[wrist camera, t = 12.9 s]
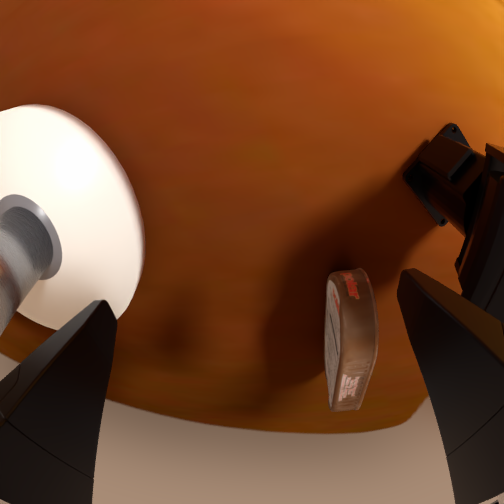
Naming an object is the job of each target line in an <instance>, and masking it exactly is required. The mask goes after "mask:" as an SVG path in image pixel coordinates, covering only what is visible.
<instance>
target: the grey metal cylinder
mask: <svg viewBox="0 0 504 504" xmlns="http://www.w3.org/2000/svg"><path fill="white" fill-rule="evenodd" d="M52 259H53V245H52V241H51V238H50V235H49V233H48V231H47V229H46V227H45V226H44V224H43V223H42V222H41V220H40V219H39V218H38V217H37V216H36V215H35V214H34V213H32V212H31V211H30V210H28V209H26V208H23V207H19V206H15V207H11V208H9V209H8V210H7V211H5V212H4V213H3V214H2V215H1V216H0V335H1V334H2V332H3V331H4V329H5V327H6V326H7V324H8V323H9V321H10V320H11V318H12V317H13V315H14V313H15V312H16V311H17V309H18V308H19V306H20V305H21V303H22V302H23V300H24V299H25V298H26V296H27V295H28V293H29V292H30V291H31V289H32V288H33V286H34V285H35V284H36V282H37V281H38V280H39V278H40V277H41V276H42V275H43V273H44V272H45V271H46V269H47V268H48V267H49V266H50V264H51V262H52Z"/></svg>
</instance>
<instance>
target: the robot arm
mask: <svg viewBox="0 0 504 504" xmlns="http://www.w3.org/2000/svg"><path fill="white" fill-rule="evenodd" d="M452 128H454V130H453V132H452ZM485 152H486V156H484V155H482V154H480V153H478V152H476V151H474V150H472V148H470V146H469V144H468V142H467V141H466V139H465V137H464V136H463V134H462V132H461V131H460V129H459V127H458V126H457V125H456V124H453V123H449V124H448V125H447V126H446V127H445V128H444V129H443V131H442V132H441V133H440V134H439V135H437V136H436V137H435V138H434V139H433V140H432V141H431V143H430V144H429V145H428V146H427V147H426V148H425V149H424V150H423V151H422V152H421V154H420V155H419V157H418V158H417V159H416V160H415V162H414V163H413V164H412V165H411V166H410V167H409V168H408V169H407V170H406V171H405V172H404V174H403V180H404V181H405V183H406V184H407V185H408V186H409V187H410V189H411V190H412V191H413V192H414V194H415V195H416V196H417V197H418V199H419V200H420V201H421V203H422V204H423V205H424V207H425V208H426V209H427V211H428V212H429V213H430V215H431V216H432V217H433V219H434V220H435V221H436V223H437V224H438V225H439V226H441V227H442V226H444V225H446V224H447V222H448V221H449V222H450V223H451V224H452V225H453V226H454V227H455V228H456V229H457V230H458V231H459V232H460V233H461V234H462V235H463V236H464V237H465V240H464V243H463V246H462V249H461V252H460V255H459V257H458V258H457V259H456V262H455V268H456V271H457V273H458V279H459V282H460V285H461V288H462V290H463V291H462V293H461V295H459V294H457V293H456V292H454V291H452V290H451V289H449V288H448V287H446V286H444V285H443V284H441V283H439V282H438V281H436V280H434V279H433V278H431V277H429V276H427V275H426V274H424V273H422V272H421V271H419V270H417V269H415V268H412V269H405V270H403V271H402V273H401V276H400V280H399V285H398V289H397V299H398V302H399V305H400V309H401V312H402V315H403V319H404V322H405V326H406V329H407V333H408V336H409V340H410V343H411V345H412V348H413V351H414V353H415V356H416V359H417V361H418V364H419V367H420V370H421V373H422V375H423V378H424V381H425V384H426V387H427V390H428V393H429V396H430V400H431V403H432V406H433V409H434V412H435V416H436V419H437V423H438V426H439V430H440V434H441V437H442V441H443V445H444V449H445V453H446V456H447V457H446V458H447V462H448V467H449V471H450V477H451V481H452V487H453V492H454V498H455V504H479V503H481V502H484V501H486V500H489V499H491V498H493V497H495V496H497V497H498V500H496V501H495V502H493V503H491V504H504V148H502V147H499V146H496V145H492V144H489V143H486V148H485ZM409 175H411V178H410V179H408V177H409ZM442 219H443V220H442ZM441 220H442V221H441ZM116 331H117V319H116V317H115V315H114V313H113V311H112V309H111V307H110V305H109V303H108V302H107V301H106V300H94V301H93V302H91V303H90V304H89V305H88V306H87V307H85V308H84V309H83V310H82V311H80V312H79V313H78V314H77V315H76V316H74V317H73V318H72V319H71V320H70V321H68V322H67V323H66V324H65V325H64V326H62V327H61V328H60V329H59V330H58V331H56V332H55V333H54V334H53V335H52V336H51V337H49V338H48V339H47V340H46V341H45V342H44V343H43V344H41V345H40V346H39V347H38V348H37V349H36V350H35V351H33V352H32V353H31V354H30V355H29V356H28V357H27V358H26V359H25V360H23V361H22V362H21V364H19V365H18V366H17V367H16V368H15V369H14V370H13V371H11V372H10V373H9V374H8V375H7V376H6V377H5V378H4V379H2V380H1V381H0V504H92V494H93V483H94V479H93V478H94V471H95V461H96V453H97V445H98V438H99V431H100V424H101V419H102V413H103V407H104V402H105V397H106V391H107V386H108V382H109V377H110V372H111V367H112V361H113V353H114V345H115V338H116Z"/></svg>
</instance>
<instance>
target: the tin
mask: <svg viewBox="0 0 504 504" xmlns="http://www.w3.org/2000/svg"><path fill="white" fill-rule="evenodd" d="M378 332H379V330H378V314H377V307H376V301H375V296H374V292H373V289H372V285H371V282H370V280H369V277H368V275H367V273H366V272H365V271H364V270H363V269H362V268H357V269H355V270H345V271H337V272H333V273H331V274H330V275H329V276H328V279H327V287H326V308H325V326H324V367H325V376H326V379H327V384H328V392H329V400H328V404H329V408H330V410H331V411H334V412H337V411H346V410H358V409H359V408H360V406H361V403H362V400H363V398H364V395H365V392H366V389H367V386H368V383H369V380H370V377H371V374H372V371H373V368H374V365H375V362H376V358H377V352H378V339H379V338H378Z"/></svg>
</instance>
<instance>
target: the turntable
mask: <svg viewBox="0 0 504 504" xmlns="http://www.w3.org/2000/svg"><path fill="white" fill-rule="evenodd" d="M15 206H19V207H23V208H26V209H28V210H30V211H31V212H32V213H34V214H35V215H36V216H37V217H38V218H39V219H40V220H41V222H42V223H43V224H44V226H45V227H46V229H47V231H48V233H49V235H50V238H51V241H52V245H53V259H52V262H51V264H50V266H49V267H48V268H47V269H46V271H45V272H44V273H43V275H42V276H41V277H40V278H39V280H38V281H37V282H36V284H35V285H34V286H33V288H32V289H31V291H30V292H29V293H28V295H27V296H26V298H25V299H24V300H23V302H22V303H21V305H20V306H19V308H18V309H17V311H18V312H19V313H21V314H22V315H24V316H25V317H27V318H29V319H31V320H33V321H34V322H37V323H39V324H41V325H43V326H46V327H49V328H52V329H55V330H59V329H60V328H61V327H62V326H64V325H65V324H66V323H67V322H68V321H70V320H71V319H72V318H73V317H74V316H76V315H77V314H78V313H79V312H80V311H82V310H83V309H84V308H85V307H87V306H88V305H89V304H90V303H91V302H93V301H94V300H106V301H107V302H108V303H109V305H110V307H111V309H112V311H113V313H114V315H115V317H116V319H118V318H119V317H120V316H121V315H122V314H123V312H124V311H125V310H126V308H127V307H128V305H129V303H130V301H131V299H132V297H133V295H134V292H135V290H136V288H137V285H138V283H139V281H140V278H141V274H142V271H143V267H144V261H145V243H146V240H145V231H144V223H143V219H142V215H141V210H140V206H139V203H138V201H137V198H136V195H135V192H134V189H133V187H132V185H131V183H130V181H129V179H128V176H127V174H126V172H125V170H124V169H123V167H122V166H121V164H120V162H119V161H118V159H117V157H116V156H115V154H114V153H113V152H112V151H111V149H110V148H109V147H108V146H107V144H106V143H105V142H104V140H103V139H102V138H101V137H100V136H99V135H98V134H97V133H96V132H95V131H94V130H93V129H92V128H90V127H89V126H88V125H86V124H85V123H84V122H82V121H81V120H80V119H78V118H77V117H75V116H73V115H72V114H70V113H68V112H66V111H64V110H61V109H58V108H55V107H52V106H48V105H41V104H29V105H22V106H18V107H15V108H12V109H8V110H5V111H2V112H0V216H1V215H2V214H3V213H4V212H5V211H7V210H8V209H9V208H11V207H15Z"/></svg>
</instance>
